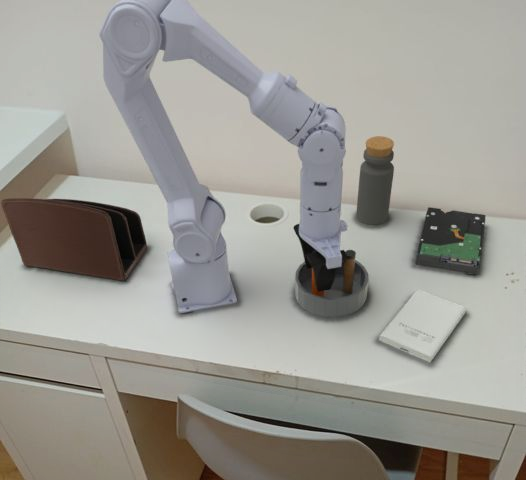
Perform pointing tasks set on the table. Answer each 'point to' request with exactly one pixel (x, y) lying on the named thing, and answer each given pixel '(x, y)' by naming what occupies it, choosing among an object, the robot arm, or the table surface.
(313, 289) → the marker
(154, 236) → the table surface
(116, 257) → the letter holder
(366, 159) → the bottle
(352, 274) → the brown slender rod
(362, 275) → the pot
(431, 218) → the disk drive
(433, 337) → the hard drive
